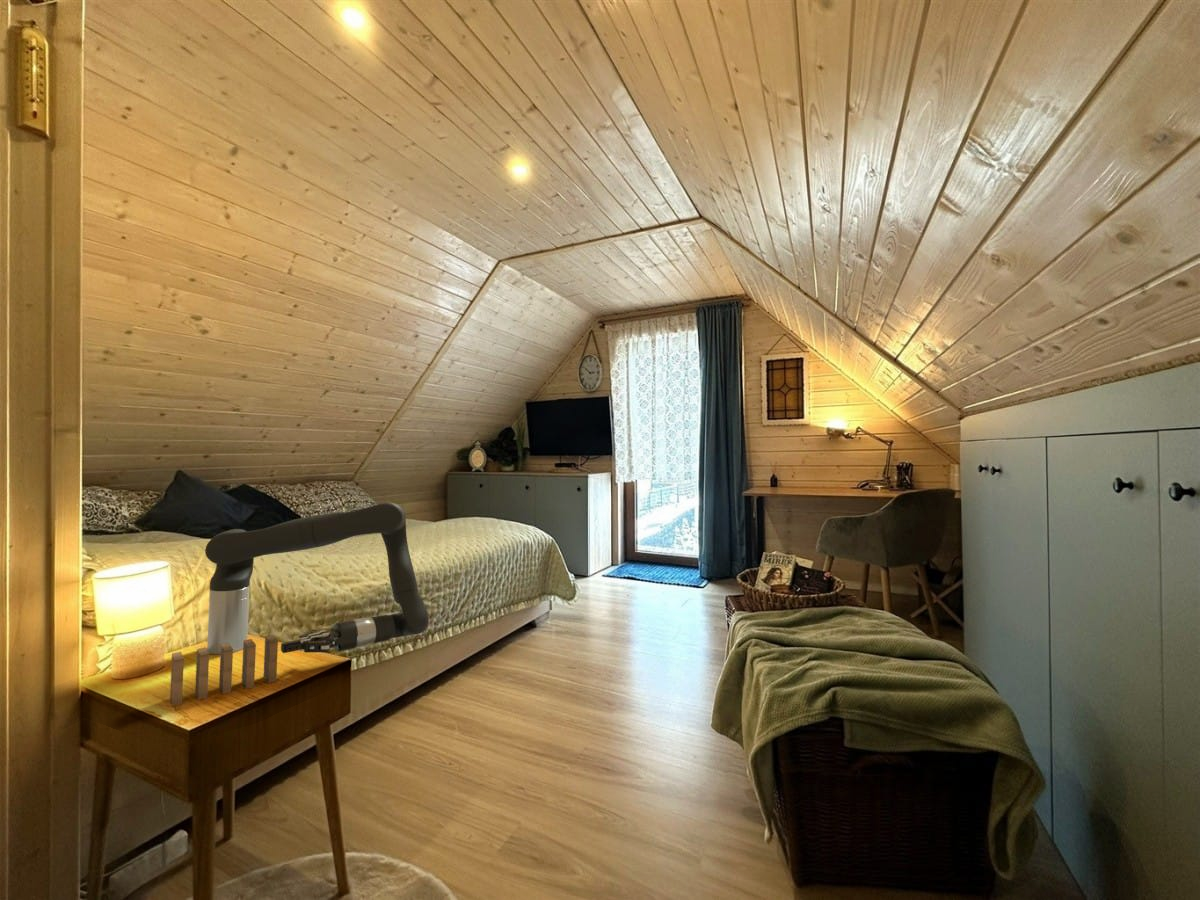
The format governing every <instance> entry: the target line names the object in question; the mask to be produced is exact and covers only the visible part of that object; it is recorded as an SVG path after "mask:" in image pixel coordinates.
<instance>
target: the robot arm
mask: <svg viewBox="0 0 1200 900" xmlns="http://www.w3.org/2000/svg"><path fill="white" fill-rule="evenodd" d="M404 510H405V509H404V508H402V507H401V506H400V505H398V504H397V503H395V502H394V503H393V502H388V501H387V502H385V501H384V502H381V503H377V504H374V505H371V506H370V505H369V506H367V507H363V508H360V509H356V510H355V509H354V510H351V511H344V512H343V511H341V512H331V513H325V514H316V515H311V516H305V517H299V518H296V519H291V520H288V521H285V522H281V523H278V524H275V525H272V526H269V527H265V528H261V529H256V530H254V529H253V530H248V531H247V530H245V529H243V528H242V529H241V528H233V529H229V530H226V531H222V532H220V533H218V534H216V535H214V536H213V537H212V538H211V539H210V540H209V541H208V542H207V544H206V546H205V549H204V551H205V556H206V558H207V559H208V560H209V561H210V562H212V563H214V564H215V565H216V566H215V571H214V573H213V575H212V577H211V578H210V580H209V595H208V596H209V598H208V599H209V600H208V603H209V604H208V621H207V623H208V624H207V625H208V626H207V640H206V641H207V644H206V649H207V651H208V652H209V655H210V654H211V655H220V653H221V644H226V643H229V644H230V645H231V647H232V648H233V653H236V652H240V651H243V642H244V640H248V635H249V633H248V632H249V611H250V610H249V609H250V584H251V583H250V581H251V577H252V574H253V571H254V560H255V558H258V557H262V556H267V555H274V554H282V553H292V552H299V551H304V550H311V549H316V548H320V547H325V546H329V545H332V544H335V543H339V542H341V541H343V540H346V539H349V538H352V537H356V536H357V537H358V536H364V535H373V534H380V535H381V537H382V539H383V543H384V545H385V549H386V555H387V556H386V557H387V561H388V562H387V563H388V564H387V565H388V574H389V575H388V577H389V582H390V587H391V590H392V591H391V592H392V595H393V599H394V602H395V603H396V605H397V604H398V605H399V606H400V608H401V612H397V613H396V612H395V613H392V614H383V615H378V616H372V617H362V618H361V617H360V618H355V619H348V620H344V621H338V622H336V623H334V624H333V627H332V629H331V630H327V629H322V630H320V631H318V632H317V629H311V630H309V631H308V632H306V633H303V634H301V635H299V636H298V638H297V639H295V640H291V641H285V642H282V643H281V644H280V651H281V653H282V654H286V653H291V652H296V651H300V652H303V653H329V652H330V648H333V649H334V650H335V651H336V652H337V653H340V652H345V651H348V650H353V649H359V648H362V647H366V646H369V645H372V644H377V643H381V642H386V641H388V640H391V639H395V638H401V637H407V636H413V635H420V634H421V633H423V632H424V633H425V631H426V630H427V628H428V626H429V622H430V621H429V620H430V617H429V612H428V609H427V606H426V604H425V602H424V599H422V596H421V595H420V592H419V587H418V582H417V579H416V575H415V569H414V566H413V562H412V558H411V555H410V551H409V545H408V540H407V539H408V538H407V523H406V522H407V517H406V515H407V514H406V512H405V511H404Z"/></svg>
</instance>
